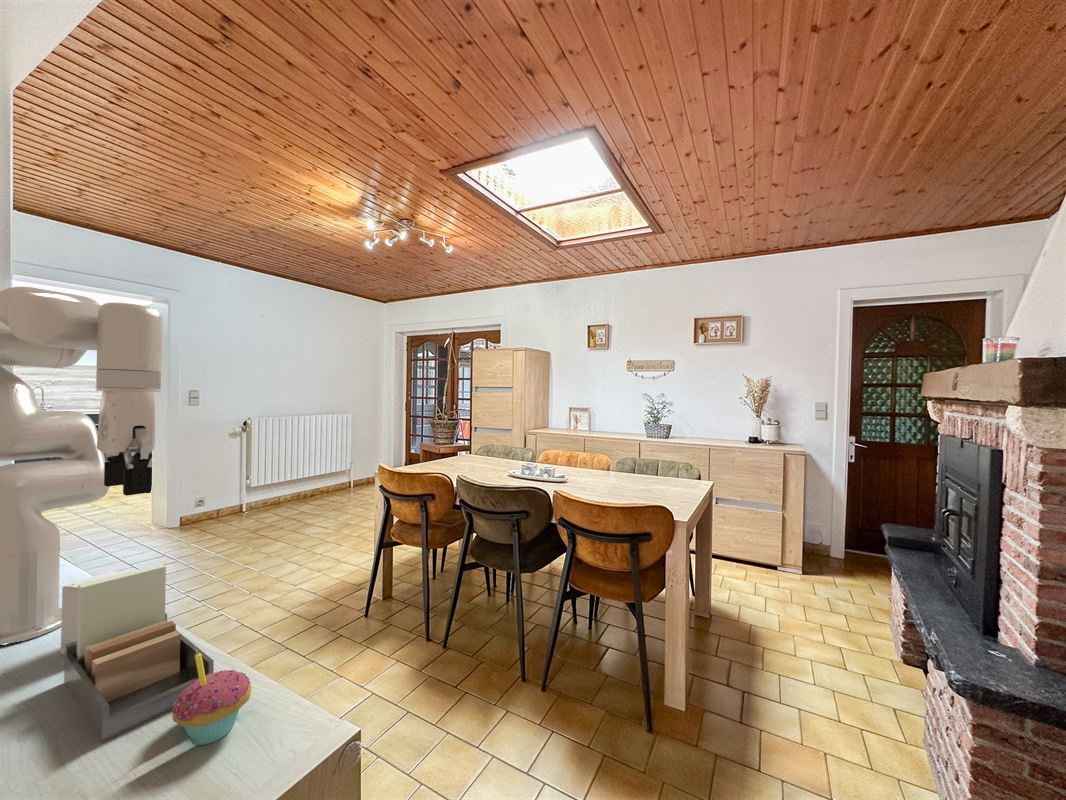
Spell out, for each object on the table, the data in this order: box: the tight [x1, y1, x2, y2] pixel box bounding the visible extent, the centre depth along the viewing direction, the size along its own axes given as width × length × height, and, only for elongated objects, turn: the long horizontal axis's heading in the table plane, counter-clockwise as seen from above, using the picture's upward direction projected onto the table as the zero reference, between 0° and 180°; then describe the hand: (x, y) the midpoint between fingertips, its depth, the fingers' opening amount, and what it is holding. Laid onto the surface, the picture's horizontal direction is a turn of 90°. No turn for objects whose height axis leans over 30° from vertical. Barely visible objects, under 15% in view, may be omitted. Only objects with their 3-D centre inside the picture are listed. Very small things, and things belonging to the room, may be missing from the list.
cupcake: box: [171, 650, 252, 746], centre depth 58 cm, size 9×8×12 cm
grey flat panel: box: [77, 563, 167, 658], centre depth 69 cm, size 2×10×15 cm, turn 147°
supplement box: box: [60, 570, 127, 655], centre depth 75 cm, size 7×7×13 cm
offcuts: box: [85, 619, 180, 702], centre depth 66 cm, size 6×10×7 cm, turn 147°
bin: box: [63, 612, 215, 744], centre depth 65 cm, size 20×12×7 cm, turn 57°
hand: (127, 489), depth 69 cm, fingers open, 9 cm apart
